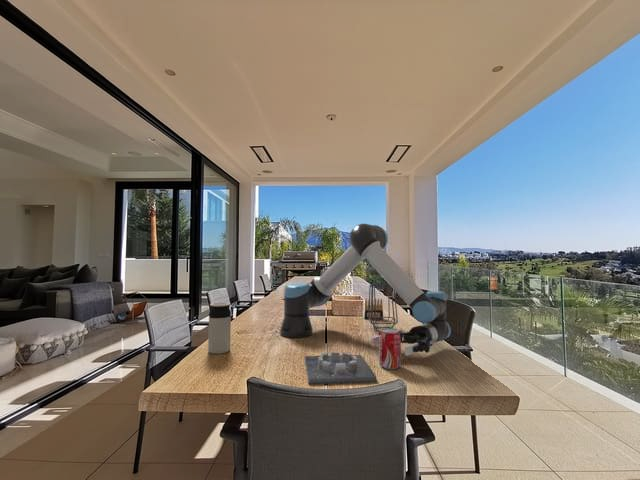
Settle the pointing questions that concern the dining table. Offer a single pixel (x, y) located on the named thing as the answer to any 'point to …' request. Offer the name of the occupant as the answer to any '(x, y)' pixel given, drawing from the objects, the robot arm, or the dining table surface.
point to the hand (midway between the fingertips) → (388, 346)
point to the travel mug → (219, 328)
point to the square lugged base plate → (338, 369)
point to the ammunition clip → (378, 309)
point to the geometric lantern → (375, 302)
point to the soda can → (390, 348)
